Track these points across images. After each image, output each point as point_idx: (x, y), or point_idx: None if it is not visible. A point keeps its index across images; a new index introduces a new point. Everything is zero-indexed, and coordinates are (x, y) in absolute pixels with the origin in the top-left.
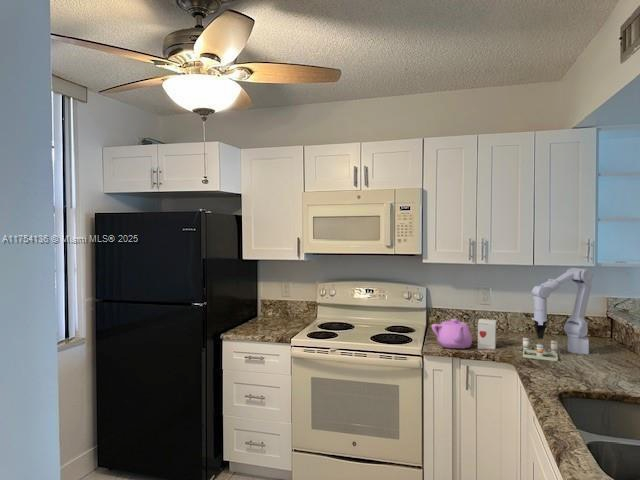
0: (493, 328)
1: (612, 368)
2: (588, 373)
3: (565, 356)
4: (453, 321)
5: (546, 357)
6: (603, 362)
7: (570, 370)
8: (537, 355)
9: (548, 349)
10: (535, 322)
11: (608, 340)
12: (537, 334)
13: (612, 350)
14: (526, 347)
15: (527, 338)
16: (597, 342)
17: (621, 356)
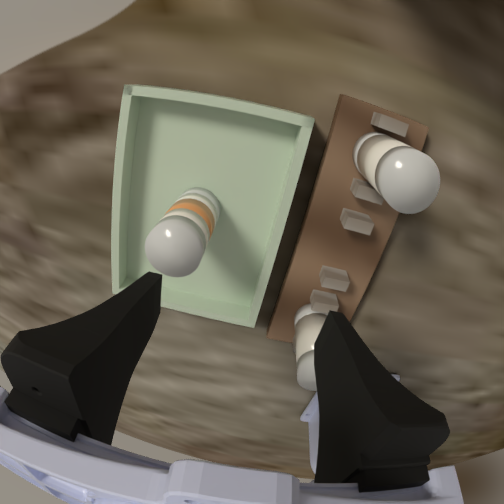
0: None
1: (150, 418)
2: None
3: (286, 350)
4: None
5: (111, 237)
6: (222, 427)
7: (39, 290)
8: (181, 194)
9: (320, 303)
10: (379, 426)
11: (479, 452)
12: (123, 290)
13: None
14: (358, 157)
15: (403, 196)
16: (473, 440)
17: None
